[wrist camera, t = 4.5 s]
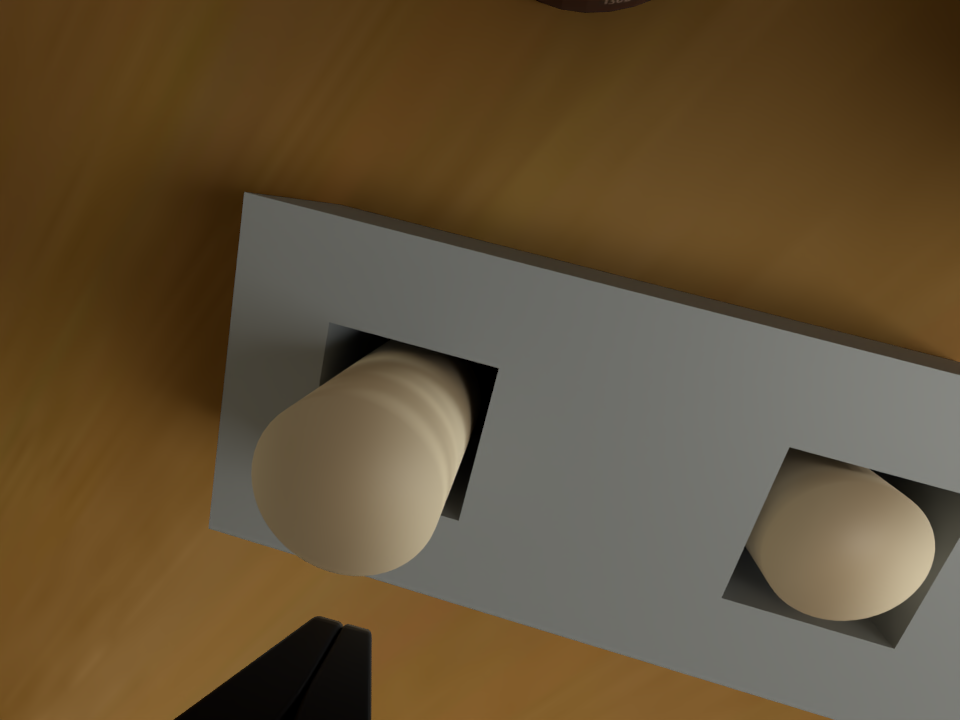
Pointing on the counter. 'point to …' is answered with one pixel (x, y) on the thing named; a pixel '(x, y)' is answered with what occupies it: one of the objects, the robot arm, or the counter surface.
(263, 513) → the birch peg
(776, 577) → the birch peg
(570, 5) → the food container
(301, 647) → the robot arm
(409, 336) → the grey peg board
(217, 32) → the counter surface
